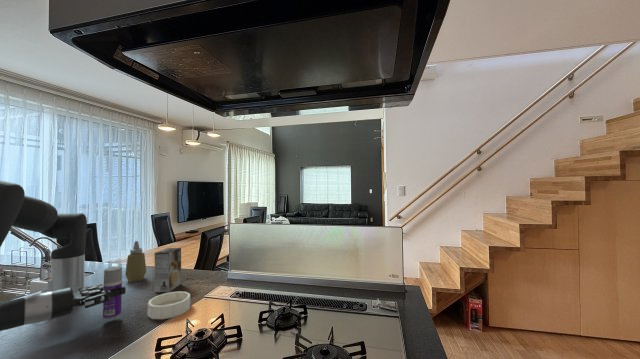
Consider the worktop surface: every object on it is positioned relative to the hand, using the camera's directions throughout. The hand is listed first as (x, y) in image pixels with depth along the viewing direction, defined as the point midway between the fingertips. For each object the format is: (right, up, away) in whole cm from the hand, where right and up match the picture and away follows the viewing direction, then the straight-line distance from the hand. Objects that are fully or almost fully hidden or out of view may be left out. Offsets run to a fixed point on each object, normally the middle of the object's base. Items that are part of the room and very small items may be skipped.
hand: (122, 288), depth 87 cm
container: (-2, -8, -2) cm, 9 cm away
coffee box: (0, -11, +26) cm, 28 cm away
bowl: (+13, -10, +5) cm, 17 cm away
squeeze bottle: (-21, -11, +36) cm, 43 cm away
